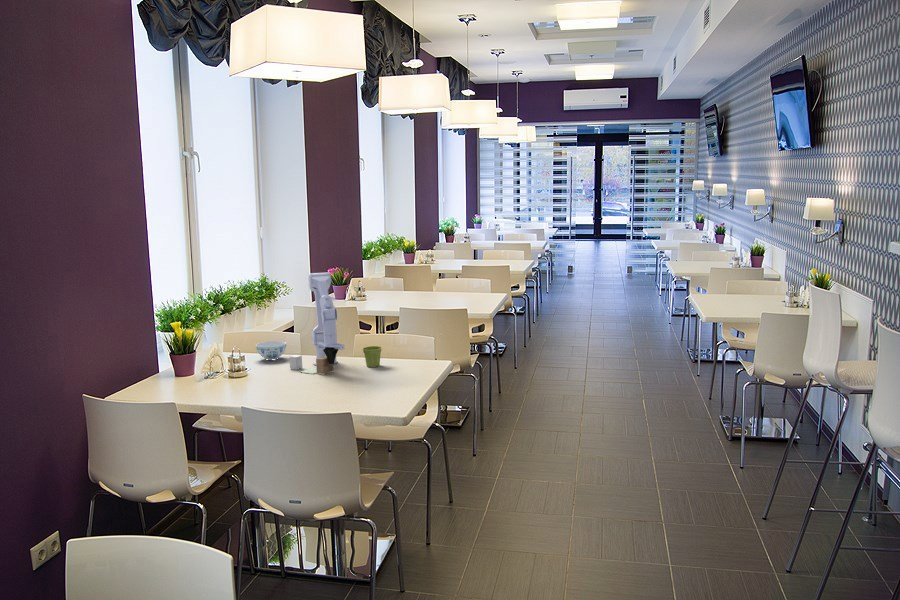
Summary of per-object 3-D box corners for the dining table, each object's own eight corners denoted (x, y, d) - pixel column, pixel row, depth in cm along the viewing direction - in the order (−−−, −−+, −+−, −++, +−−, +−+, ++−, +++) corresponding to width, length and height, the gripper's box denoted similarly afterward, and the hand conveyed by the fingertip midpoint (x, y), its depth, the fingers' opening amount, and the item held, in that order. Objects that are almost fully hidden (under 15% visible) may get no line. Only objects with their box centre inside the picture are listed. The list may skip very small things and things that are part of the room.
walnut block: (327, 370, 364) (326, 355, 363) (333, 371, 362) (332, 356, 361) (316, 373, 358) (316, 358, 357) (323, 374, 356) (322, 359, 355)
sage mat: (316, 367, 370) (316, 366, 370) (329, 369, 366) (329, 368, 366) (299, 372, 361) (299, 371, 361) (313, 374, 357) (313, 373, 357)
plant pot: (364, 369, 365) (363, 350, 364) (361, 364, 374) (361, 346, 373) (384, 367, 367) (383, 349, 366) (381, 363, 376) (380, 345, 375)
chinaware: (262, 356, 400) (261, 341, 399) (291, 355, 398) (290, 340, 397) (252, 362, 385) (251, 347, 384) (282, 362, 384) (281, 347, 382)
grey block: (296, 367, 372) (295, 354, 372) (302, 368, 370) (301, 355, 370) (290, 369, 369) (289, 356, 368) (296, 369, 367) (295, 357, 366)
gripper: (312, 334, 356) (313, 364, 358) (336, 337, 348) (338, 367, 350) (322, 332, 362) (323, 360, 364) (346, 334, 354) (348, 363, 356)
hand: (331, 363), depth 357 cm, fingers closed
